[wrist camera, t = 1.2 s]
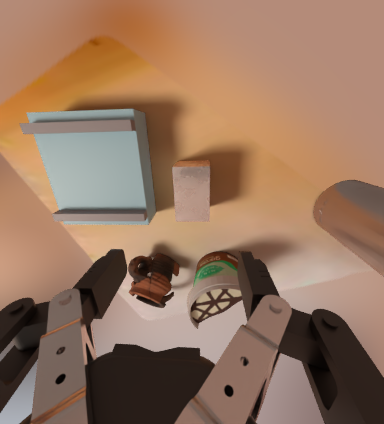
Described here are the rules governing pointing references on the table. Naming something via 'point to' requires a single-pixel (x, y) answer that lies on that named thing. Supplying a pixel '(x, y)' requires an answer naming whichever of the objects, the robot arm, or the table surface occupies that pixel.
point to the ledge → (96, 165)
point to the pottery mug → (152, 279)
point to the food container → (213, 287)
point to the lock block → (191, 190)
